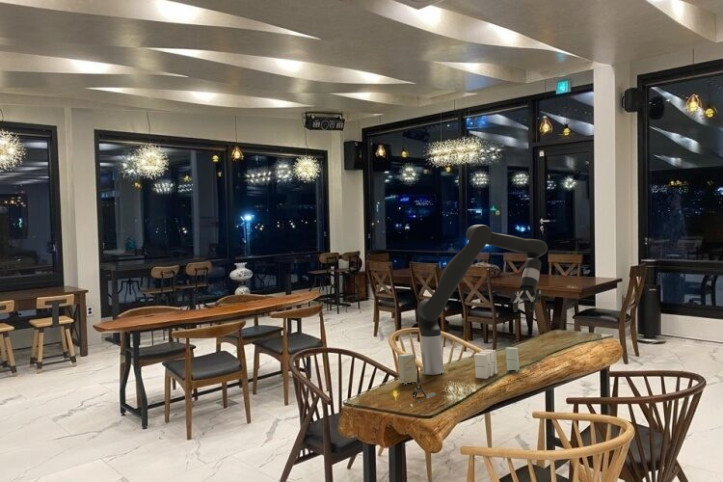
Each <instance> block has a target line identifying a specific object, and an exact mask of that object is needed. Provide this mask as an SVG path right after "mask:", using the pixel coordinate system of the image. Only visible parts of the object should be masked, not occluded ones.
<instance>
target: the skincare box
mask: <svg viewBox="0 0 723 482" xmlns="http://www.w3.org/2000/svg"><path fill="white" fill-rule="evenodd" d="M397 359H398V374H399V383H400V382H401V383H400V384H402V383H404V384H403V385H405V384H406V385H408V384H407V383H411V382H417V363H416V354H415V353H411V352H410V353H404V354H403V353H402V354H398V355H397Z"/></svg>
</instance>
